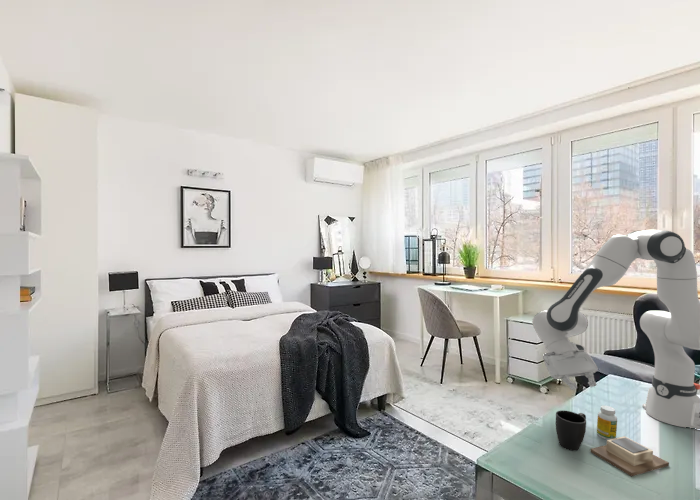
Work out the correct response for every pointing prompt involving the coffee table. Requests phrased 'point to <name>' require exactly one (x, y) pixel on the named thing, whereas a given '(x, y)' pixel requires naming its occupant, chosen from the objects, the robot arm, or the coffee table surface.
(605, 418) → the supplement bottle
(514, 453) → the coffee table surface
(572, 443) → the mug
